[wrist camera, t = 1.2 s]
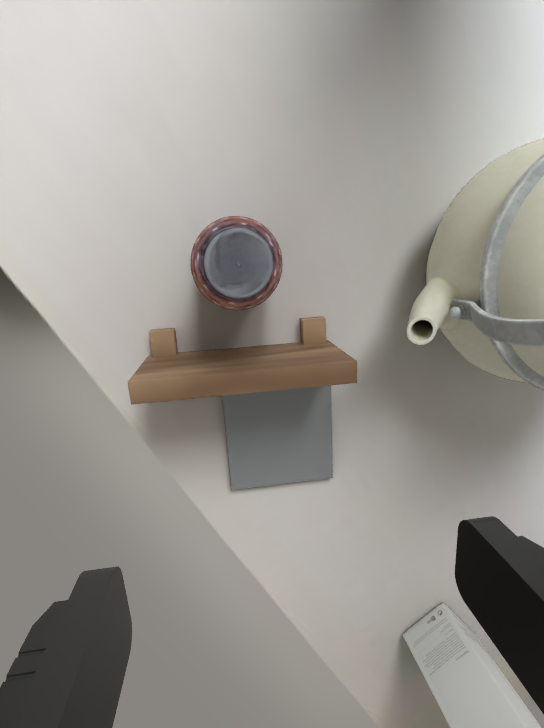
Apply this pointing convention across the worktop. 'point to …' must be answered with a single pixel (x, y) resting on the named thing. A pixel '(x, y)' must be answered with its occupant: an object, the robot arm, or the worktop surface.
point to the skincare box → (464, 675)
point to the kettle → (491, 270)
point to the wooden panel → (240, 367)
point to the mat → (279, 436)
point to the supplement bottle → (236, 263)
